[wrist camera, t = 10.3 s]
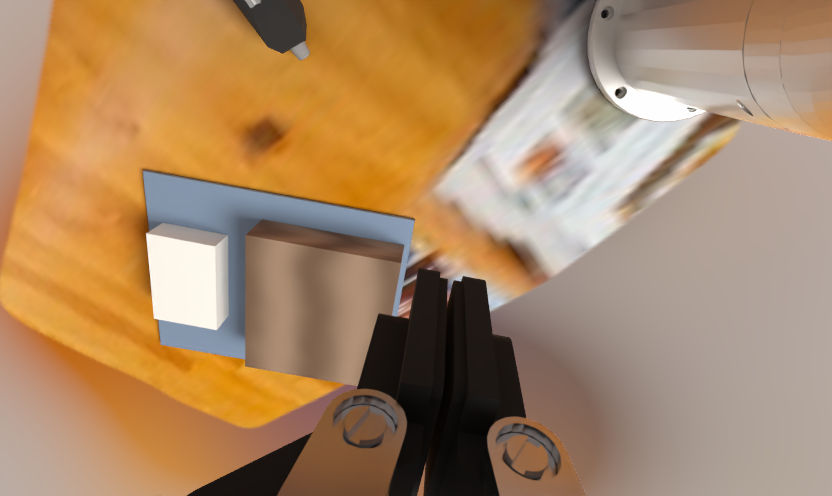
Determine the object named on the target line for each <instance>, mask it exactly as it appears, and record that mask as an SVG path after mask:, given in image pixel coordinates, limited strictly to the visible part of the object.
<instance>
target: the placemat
mask: <svg viewBox="0 0 832 496" xmlns="http://www.w3.org/2000/svg"><path fill="white" fill-rule="evenodd" d="M143 177H144V187H145V196H146V206H147V215H148V225H149V231H151V230H152V229H154V228H155V227H157V226H159V225H160V224H162V223H167V224H172V225H178V226H183V227H188V228H193V229H199V230H204V231H209V232H214V233H220V234H225V235H228V293H229V316H228V317H227V318H226V319H225V321H224V322H223V323H222V324H221V326H220V327H219V328H218V329H217V330H213V329H207V328H202V327H197V326H191V325H186V324H180V323H175V322H170V321H164V320H159V319H158V321H159V331H160V340H161V345H166V346H172V347H178V348H183V349H189V350H195V351H201V352H206V353H212V354H218V355H223V356H229V357H235V358H241V359H245V235H246V234H247V233H248V232H249V231H250V230H251V229H252V228H253V227H254V226H256V225H257V224H258V223H259V222H260V221H261V220H262V219H264V220H269V221H275V222H280V223H286V224H291V225H297V226H302V227H308V228H313V229H319V230H324V231H330V232H335V233H341V234H346V235H352V236H357V237H363V238H368V239H374V240H379V241H385V242H390V243H396V244H401V245H404V251H403V257H402V262H401V268H400V274H399V279H398V285H397V290H396V296H395V302H394V307H393V313H392V316H397V314H398V309H399V303H400V298H401V292H402V287H403V281H404V276H405V271H406V265H407V260H408V254H409V249H410V243H411V238H412V233H413V227H414V222H415V219H412V218H406V217H401V216H395V215H390V214H384V213H379V212H373V211H368V210H362V209H357V208H351V207H346V206H340V205H335V204H329V203H324V202H319V201H313V200H308V199H302V198H297V197H291V196H286V195H280V194H275V193H269V192H264V191H258V190H253V189H247V188H242V187H236V186H231V185H226V184H220V183H215V182H209V181H204V180H198V179H193V178H187V177H182V176H176V175H171V174H165V173H160V172H154V171H149V170H144V171H143Z"/></svg>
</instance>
